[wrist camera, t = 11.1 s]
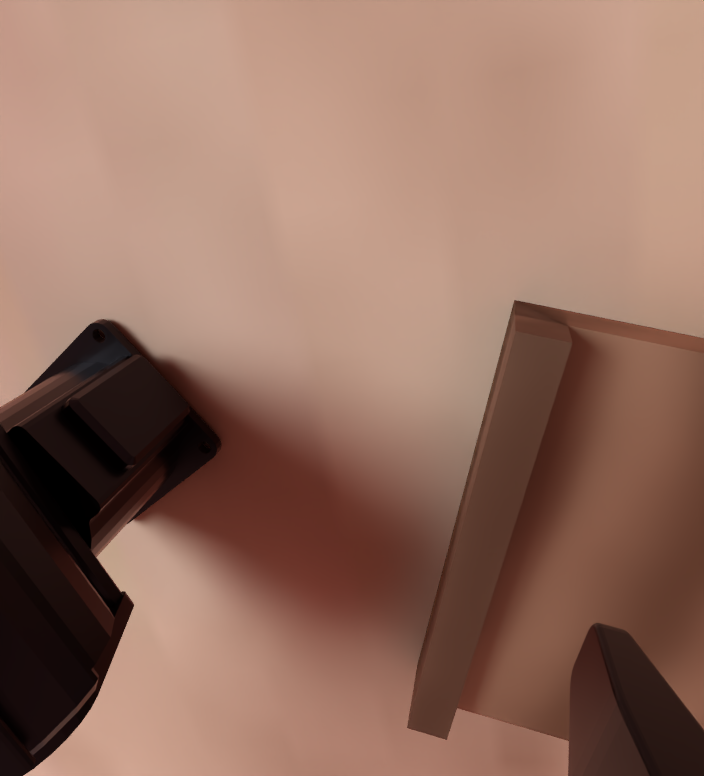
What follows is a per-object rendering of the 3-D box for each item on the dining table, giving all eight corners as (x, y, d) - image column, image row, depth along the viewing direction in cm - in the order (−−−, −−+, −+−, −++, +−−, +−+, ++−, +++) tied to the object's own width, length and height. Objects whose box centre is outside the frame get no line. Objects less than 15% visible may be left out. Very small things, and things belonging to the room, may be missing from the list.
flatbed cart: (417, 665, 27) (407, 727, 24) (514, 300, 20) (515, 331, 17) (750, 761, 25) (779, 840, 22) (987, 395, 18) (1072, 447, 15)
